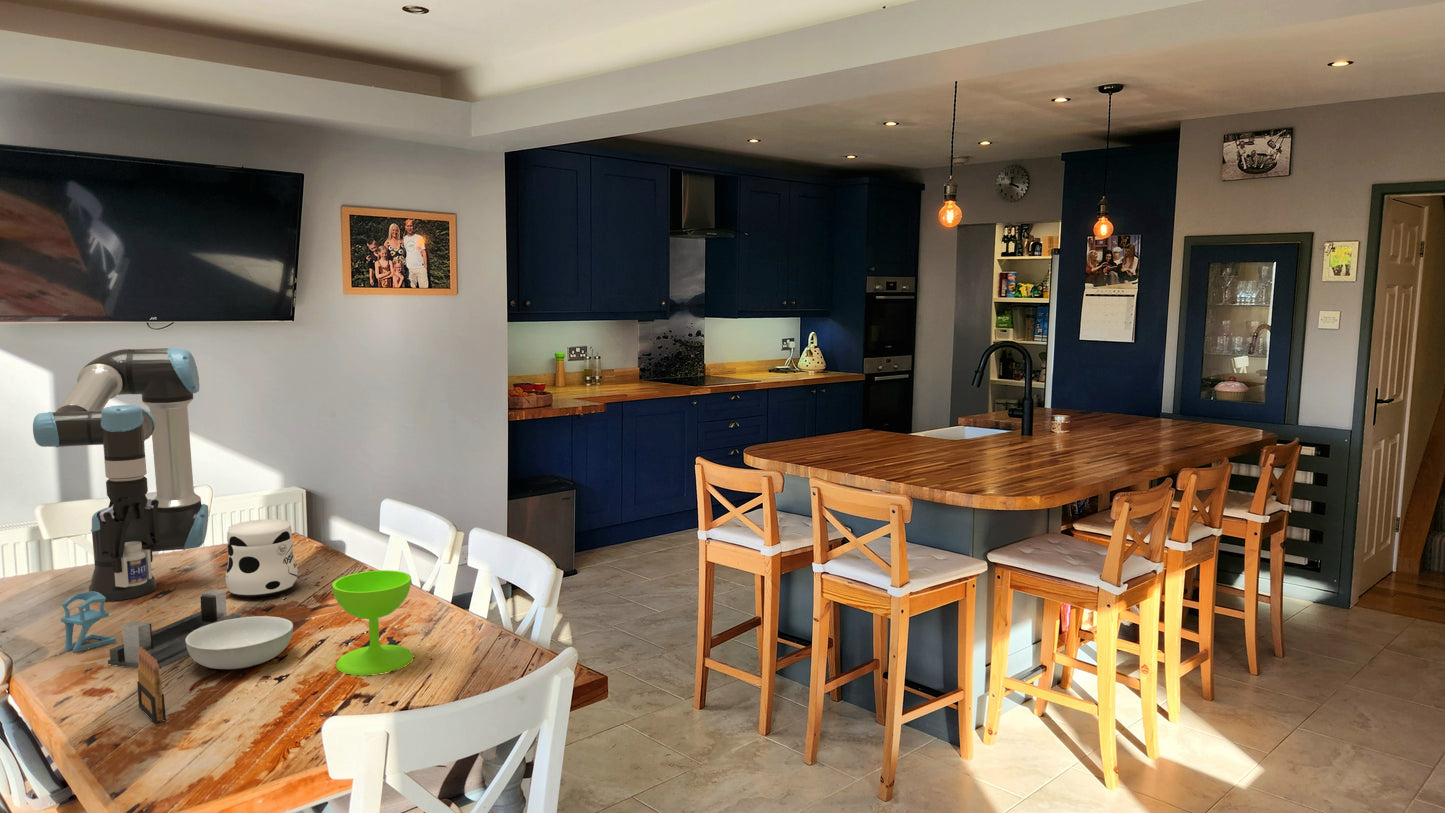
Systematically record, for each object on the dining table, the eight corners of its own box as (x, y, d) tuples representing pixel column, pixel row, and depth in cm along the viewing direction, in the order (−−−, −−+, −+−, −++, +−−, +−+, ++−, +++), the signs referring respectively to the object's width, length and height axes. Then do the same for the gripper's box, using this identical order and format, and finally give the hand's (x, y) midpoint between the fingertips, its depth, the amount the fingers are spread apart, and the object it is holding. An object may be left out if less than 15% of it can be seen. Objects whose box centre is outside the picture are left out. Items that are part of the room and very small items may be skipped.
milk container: (312, 589, 256) (308, 523, 254) (250, 606, 242) (247, 537, 240) (274, 578, 266) (270, 515, 264) (212, 594, 251) (208, 528, 249)
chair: (57, 650, 212) (52, 598, 211) (92, 637, 220) (88, 587, 219) (81, 654, 210) (77, 602, 208) (117, 641, 217) (112, 590, 216)
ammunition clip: (138, 706, 184) (134, 646, 183) (149, 703, 185) (145, 644, 184) (154, 723, 177) (150, 661, 175) (166, 720, 178) (161, 659, 176)
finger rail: (200, 624, 229) (198, 587, 228) (243, 628, 226) (241, 591, 225) (107, 664, 204) (104, 624, 203) (154, 670, 201) (151, 629, 200)
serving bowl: (315, 650, 213) (314, 621, 212) (240, 687, 193) (238, 654, 193) (243, 639, 220) (241, 610, 219) (163, 673, 200) (161, 641, 199)
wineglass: (339, 681, 196) (336, 596, 194) (332, 655, 210) (328, 576, 208) (420, 668, 203) (417, 586, 201) (407, 643, 217) (404, 566, 215)
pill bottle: (133, 588, 205) (130, 547, 203) (113, 585, 206) (110, 546, 205) (153, 580, 210) (150, 541, 209) (133, 578, 211) (130, 539, 210)
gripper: (148, 468, 215) (155, 568, 217) (73, 484, 197) (82, 593, 200) (175, 470, 213) (181, 571, 216) (102, 487, 195) (110, 596, 198)
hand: (134, 582), depth 208 cm, fingers closed on pill bottle, 5 cm apart
